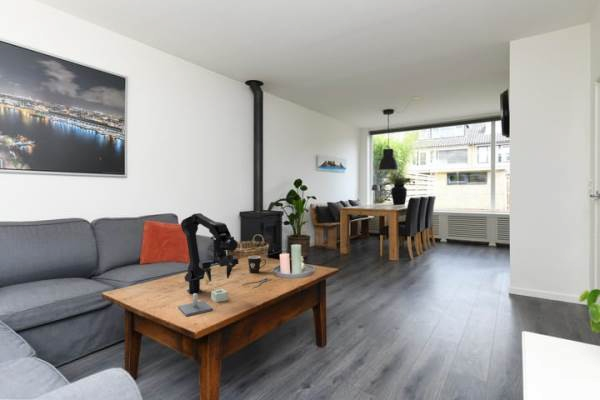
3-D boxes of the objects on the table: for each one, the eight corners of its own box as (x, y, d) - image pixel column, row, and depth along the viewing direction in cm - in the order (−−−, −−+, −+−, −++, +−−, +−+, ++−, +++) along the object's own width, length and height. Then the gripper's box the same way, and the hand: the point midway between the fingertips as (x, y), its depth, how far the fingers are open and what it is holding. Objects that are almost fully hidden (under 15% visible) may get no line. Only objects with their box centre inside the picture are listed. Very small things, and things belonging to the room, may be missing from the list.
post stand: (178, 308, 147) (177, 293, 146) (203, 302, 154) (203, 288, 153) (185, 316, 137) (185, 300, 137) (212, 310, 144) (212, 295, 144)
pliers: (239, 285, 180) (258, 276, 199) (239, 287, 180) (258, 278, 199) (254, 287, 177) (271, 278, 195) (254, 289, 177) (271, 280, 195)
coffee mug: (245, 272, 211) (245, 257, 211) (254, 269, 218) (254, 255, 218) (258, 275, 204) (258, 259, 204) (266, 272, 211) (266, 257, 211)
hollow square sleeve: (211, 299, 159) (211, 291, 159) (222, 296, 163) (222, 288, 162) (215, 302, 154) (215, 294, 154) (227, 299, 158) (227, 292, 158)
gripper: (206, 253, 146) (206, 287, 146) (243, 249, 157) (243, 280, 157) (198, 249, 155) (198, 281, 155) (233, 246, 166) (233, 275, 166)
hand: (219, 279), depth 158 cm, fingers open, 9 cm apart
